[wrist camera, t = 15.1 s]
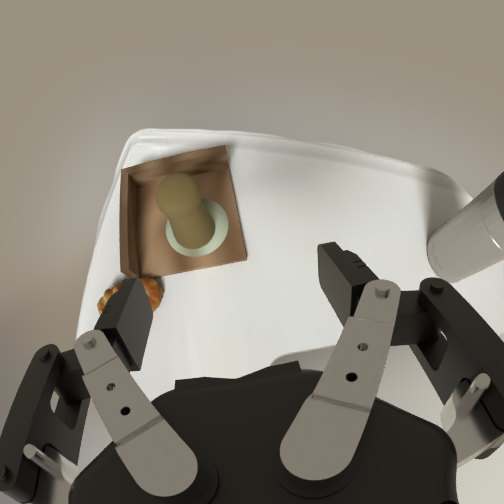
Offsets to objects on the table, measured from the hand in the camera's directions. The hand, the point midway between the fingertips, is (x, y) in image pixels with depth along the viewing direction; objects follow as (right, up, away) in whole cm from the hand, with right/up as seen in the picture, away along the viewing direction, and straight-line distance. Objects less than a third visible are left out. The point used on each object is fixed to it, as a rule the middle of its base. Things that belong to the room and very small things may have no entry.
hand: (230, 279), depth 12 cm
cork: (-7, +4, +27) cm, 28 cm away
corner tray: (-9, +6, +28) cm, 31 cm away
